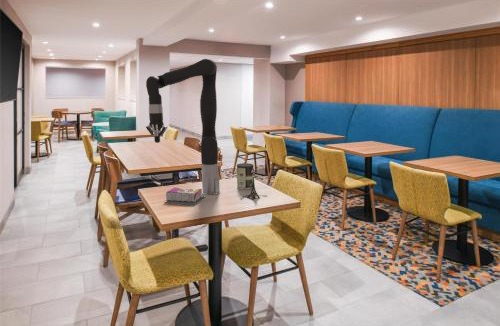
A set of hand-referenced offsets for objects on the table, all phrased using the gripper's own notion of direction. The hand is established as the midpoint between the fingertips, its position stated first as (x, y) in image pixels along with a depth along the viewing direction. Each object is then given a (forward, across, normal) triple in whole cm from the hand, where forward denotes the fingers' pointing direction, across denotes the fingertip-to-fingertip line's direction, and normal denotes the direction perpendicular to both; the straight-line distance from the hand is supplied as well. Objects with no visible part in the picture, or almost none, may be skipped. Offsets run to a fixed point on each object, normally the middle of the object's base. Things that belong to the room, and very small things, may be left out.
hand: (157, 142), depth 215 cm
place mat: (+29, -23, +13) cm, 39 cm away
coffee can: (+29, -46, -22) cm, 59 cm away
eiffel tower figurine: (+30, -58, -1) cm, 65 cm away
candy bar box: (+26, -13, +13) cm, 32 cm away
